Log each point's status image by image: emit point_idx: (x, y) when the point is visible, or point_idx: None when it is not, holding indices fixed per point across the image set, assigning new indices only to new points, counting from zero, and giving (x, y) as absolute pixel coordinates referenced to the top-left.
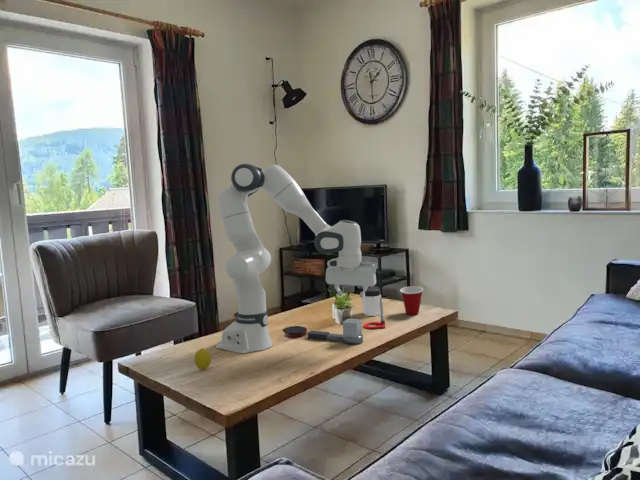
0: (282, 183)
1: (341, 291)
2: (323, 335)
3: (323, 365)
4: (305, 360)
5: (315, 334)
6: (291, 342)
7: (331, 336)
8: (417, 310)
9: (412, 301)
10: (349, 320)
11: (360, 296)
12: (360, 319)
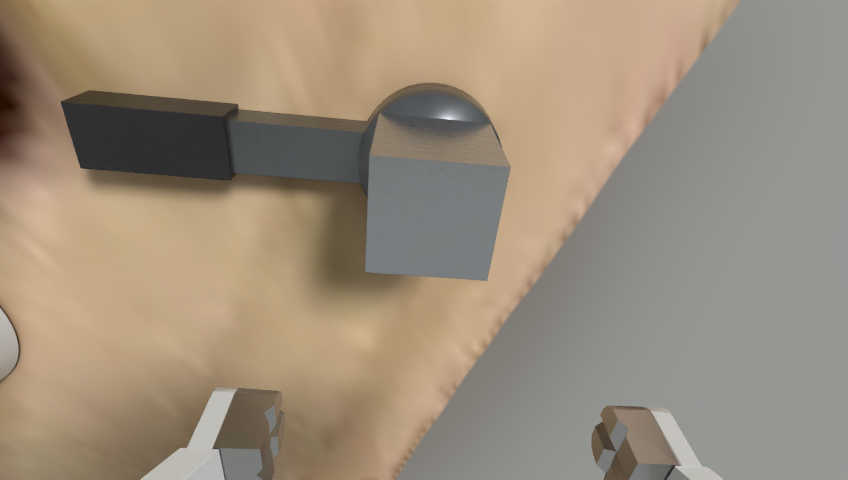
0: None
1: (262, 464)
2: (215, 177)
3: (383, 437)
4: (289, 414)
5: (148, 170)
6: (57, 234)
7: (276, 174)
8: None
9: None
10: (405, 214)
11: (599, 452)
12: (501, 167)
